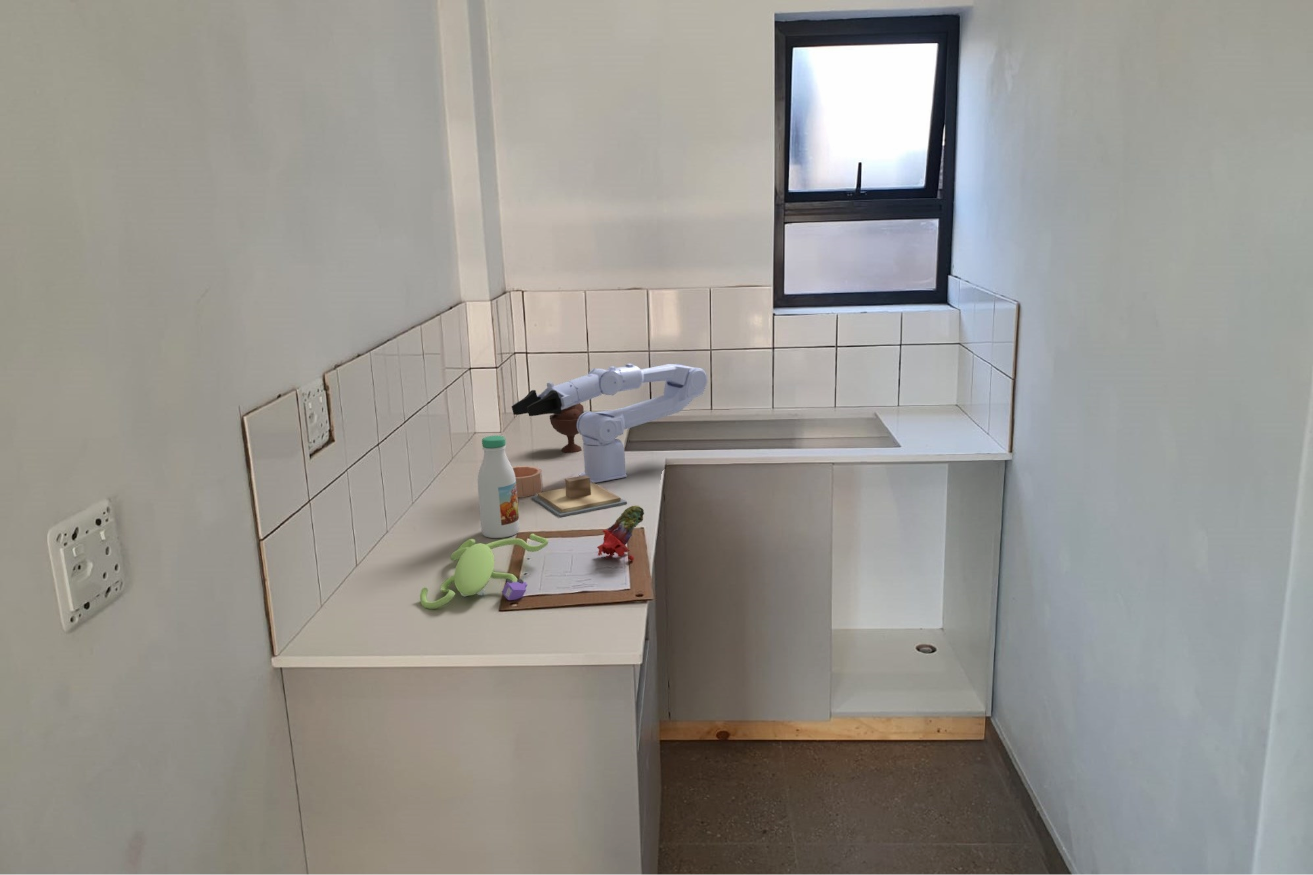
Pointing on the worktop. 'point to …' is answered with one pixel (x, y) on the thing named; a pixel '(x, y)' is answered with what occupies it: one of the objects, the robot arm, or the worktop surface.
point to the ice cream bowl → (568, 425)
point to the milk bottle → (497, 491)
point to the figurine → (481, 571)
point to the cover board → (578, 502)
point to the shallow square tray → (575, 510)
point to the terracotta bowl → (528, 480)
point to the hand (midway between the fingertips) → (520, 411)
